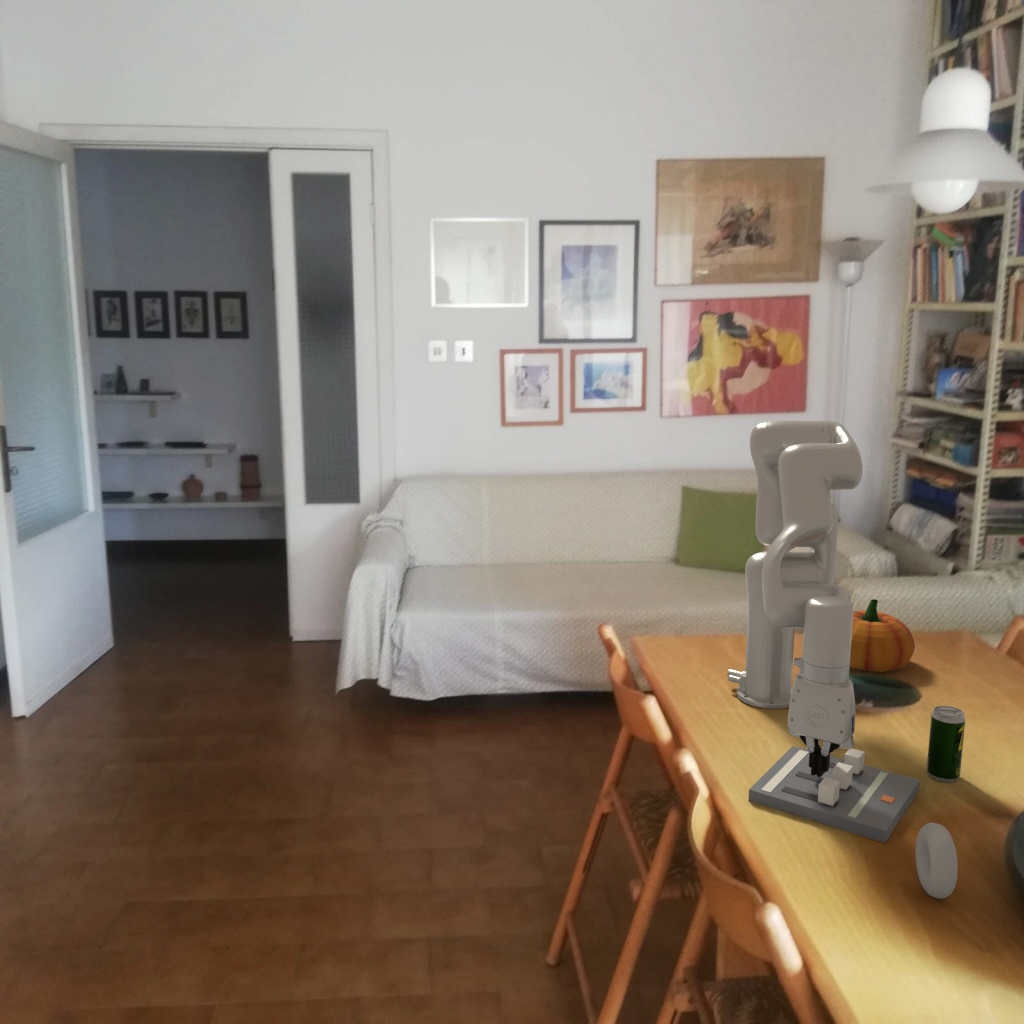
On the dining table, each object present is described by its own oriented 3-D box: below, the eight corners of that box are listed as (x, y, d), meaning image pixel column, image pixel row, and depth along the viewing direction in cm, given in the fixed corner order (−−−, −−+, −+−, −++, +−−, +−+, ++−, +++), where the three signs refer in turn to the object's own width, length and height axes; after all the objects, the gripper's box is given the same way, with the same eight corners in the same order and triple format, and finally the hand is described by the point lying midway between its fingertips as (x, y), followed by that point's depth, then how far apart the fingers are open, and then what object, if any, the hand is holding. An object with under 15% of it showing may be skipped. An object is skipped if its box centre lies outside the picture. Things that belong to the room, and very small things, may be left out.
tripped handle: (831, 785, 157) (832, 769, 157) (837, 778, 159) (838, 762, 159) (846, 789, 156) (847, 773, 155) (851, 782, 158) (852, 766, 157)
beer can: (927, 780, 164) (933, 715, 161) (924, 766, 169) (930, 703, 166) (961, 785, 162) (968, 719, 159) (957, 770, 167) (963, 707, 164)
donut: (957, 915, 127) (964, 848, 125) (931, 913, 127) (937, 846, 125) (934, 872, 137) (940, 809, 135) (909, 871, 137) (915, 808, 135)
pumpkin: (820, 671, 214) (824, 608, 211) (827, 644, 231) (830, 585, 228) (913, 683, 206) (918, 617, 203) (912, 654, 224) (917, 593, 221)
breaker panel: (748, 800, 157) (749, 770, 156) (792, 755, 173) (793, 728, 172) (885, 842, 144) (887, 810, 143) (918, 790, 160) (921, 761, 159)
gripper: (772, 668, 157) (767, 769, 161) (864, 687, 149) (857, 794, 152) (788, 654, 163) (783, 753, 167) (878, 673, 155) (870, 776, 158)
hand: (818, 772), depth 160 cm, fingers closed
